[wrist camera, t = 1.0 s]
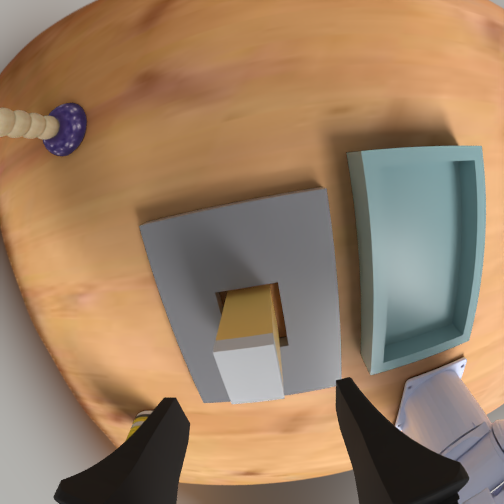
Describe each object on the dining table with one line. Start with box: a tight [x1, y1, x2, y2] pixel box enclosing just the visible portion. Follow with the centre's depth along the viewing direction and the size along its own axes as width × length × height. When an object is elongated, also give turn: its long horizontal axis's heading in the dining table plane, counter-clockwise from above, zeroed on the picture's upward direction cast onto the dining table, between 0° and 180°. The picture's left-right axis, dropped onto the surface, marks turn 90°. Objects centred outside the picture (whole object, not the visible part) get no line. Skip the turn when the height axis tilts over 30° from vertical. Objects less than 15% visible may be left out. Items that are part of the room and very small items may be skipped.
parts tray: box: [346, 146, 486, 375], centre depth 17 cm, size 16×10×3 cm, turn 11°
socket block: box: [139, 187, 341, 403], centre depth 19 cm, size 16×12×1 cm
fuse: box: [213, 284, 284, 404], centre depth 17 cm, size 4×3×7 cm
